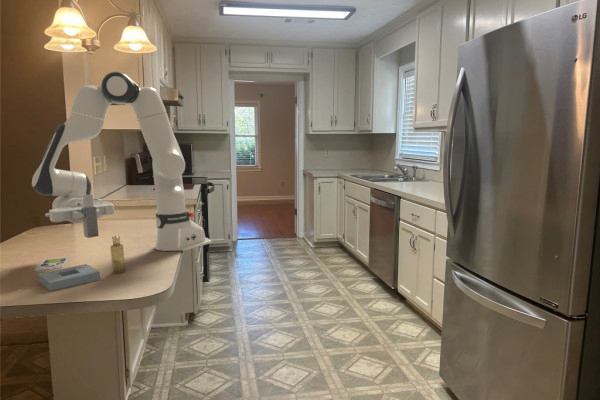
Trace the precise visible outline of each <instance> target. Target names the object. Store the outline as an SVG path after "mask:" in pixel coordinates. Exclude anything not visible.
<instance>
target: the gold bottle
mask: <svg viewBox="0 0 600 400" xmlns="http://www.w3.org/2000/svg"><path fill="white" fill-rule="evenodd" d="M111 239H112V245H110V246H109V247H110V255H111V256H110V257H111V269H112V274H114V275H120V274H123V273H125V272H126V265H125V252H124V251H125V250H124V244H122V243H121V237H120V235H114V236H112V238H111Z"/></svg>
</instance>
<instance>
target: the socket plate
mask: <svg viewBox="0 0 600 400" xmlns="http://www.w3.org/2000/svg"><path fill="white" fill-rule="evenodd" d="M99 280H100V281H101V271H99V270H98V269H96V268H94V267H92V266H90V265H88V264H87V263H86V264H85V263H84V264H80V265H75V266H70V267H64V268H59V269H54V270H51V271H46V272H41V273H38V282H39V283H40V284H42V285H43V286H44V287H45V288H46V289H48V291H50V292H51V291H52V292H53V291H56V290H62V289H65V288H70V287H73V286H77V285H81V284H85V283H90V282H95V281H99Z"/></svg>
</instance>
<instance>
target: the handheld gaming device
mask: <svg viewBox="0 0 600 400" xmlns="http://www.w3.org/2000/svg"><path fill="white" fill-rule="evenodd" d="M70 258H71V256H63V257H54V258H53V257H51V258H50V257H49V258H43V260H41V262H40V263H39V264H38V265H37V266H36V267H35V268H34V270H33V271H34V272H37V271H49V270H60V269H64V268H65V266H66V265H67V263H68V261H69V260H70Z"/></svg>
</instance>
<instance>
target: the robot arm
mask: <svg viewBox="0 0 600 400" xmlns="http://www.w3.org/2000/svg"><path fill="white" fill-rule="evenodd" d="M125 105H130V106H131V107H132V109H133V111H134V114H135V115H136V119H137V121H138V125H139V127H140V130H141V133H142V136H143V139H144V141H145V144H146V146H147V149H148V151H149V154H150V157H151V158H152V159H151V160H152V173H153V175H152V176H153V184H154V190H155V191H154V192H155V201H156V202H155V205H156V214H155V222H156V230H157V232H156V241H155V246H154V249H155V250H157V251H162V252H167V251H168V252H171V251H174V252H175V251H180V252H182V251H188V250H192V249H196V248H198V247H199V248H200V247H203V246H205V245H209V244H211V243H212V241H211V239H210V238H208V237H206V234H205V230H204V229H203V227H202V226H200V225H199V224H197V223H196V222H194V221H193V220H191V218H194V217H195V216H196V215H195V212H191V211H190V212H188V211H187V210H186V197H185V193H186V192H185V188H184V183H183V174H184V173H185V169H186V161H185V159H184V156H183V153H182V150H181V148H180V145H179V143H178V139H176V136H175V134H174V131H173V129H172V125H171V121H170V118H169V116H168V113H167V109H166V107H165V105H164V102H163V100H162V98H161V96H160V94H159V93H158V90H157V89H155V88H154V87H151V86H140V87H139V85H138V84H137V83H136V82H134V81H133V80H132V78H130V77H129V76H128V75H127V74H126V73H124V72H120V71H112V72H109V73H107V74H105V76H104V77H103V79H102V81H101V85H99V86H96V85H92V84H91V85H90V84H88V85H87V84H86V85H82V86H81V87H79V88H78V91H77V93H76V95H75V98H74V100H73V104H72V106H71V109H70V110H71V112H70V115H69V117H68V119H66V121H65V122H63V123H62V124H58V125H57V127H56V128H55V129H54V132H53V133H52V135H51V137H50V140H49V142H48V144H47V146H46V149H45V151H44V153H43V156H42V158H41V161H40V162H39V165H38V166H37V168H36V170H35V172H34V174H33V176H32V180H31V188H32V189H33V190H34V191H35V192H36V193H37V194H38V195H40V196H55V197H56V196H57V197H56V198H55V199H54V200H53V202H52V203H51V204H52V205H51V206H52V209H49V211H48V212H47V213H45V214H44V216H45V217H49V219H50V220H49V221H51V222H52V223H59V222H67V221H68V222H71V223H74V224H80V223H83V218H85V213H84V212H82V207H84V200H83V195H91V191H92V183H91V181H90V179H89V177H88V176H87V174H86V173H84V172H78V171H74V170H73V171H72V170H64V169H57V168H56V164H57V162H58V160H59V157H60V155H61V152H62V151H63V148H64V147H65V146H66V145H68V144H71V143H75V142H82V141H83V142H84V141H90V140H92V139H94V138H96V137H97V136H99V134H101V132H102V129H103V126H104V122H105V117H106V112H107V109H108V108H109V107H110V106H125ZM93 206H94V207H96V213H97V218H101V217H103V216H111V215H115V205H114V204H113V203H112V202H109V201H104V200H102V199H101V198H93Z"/></svg>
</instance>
